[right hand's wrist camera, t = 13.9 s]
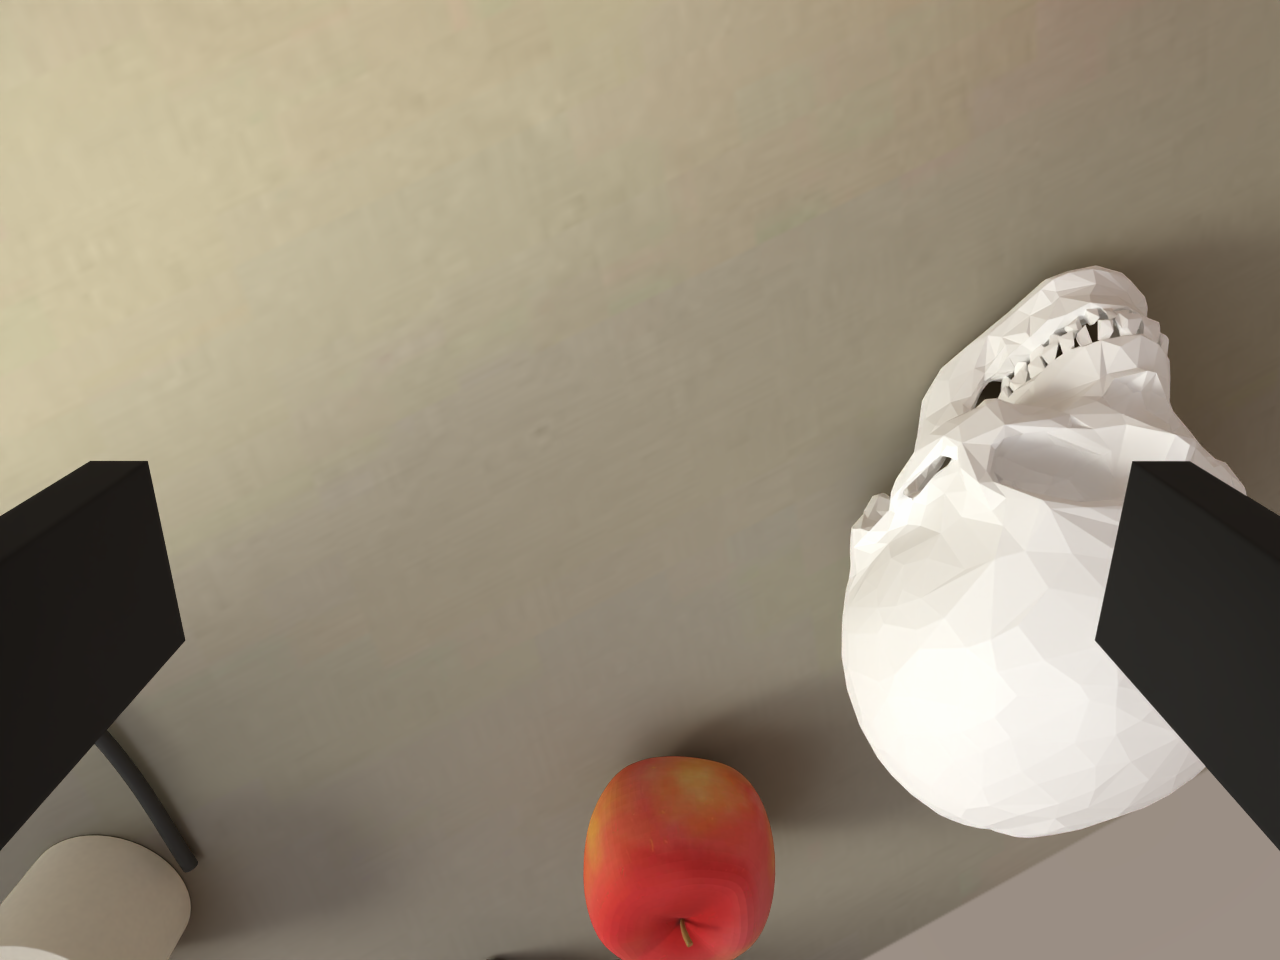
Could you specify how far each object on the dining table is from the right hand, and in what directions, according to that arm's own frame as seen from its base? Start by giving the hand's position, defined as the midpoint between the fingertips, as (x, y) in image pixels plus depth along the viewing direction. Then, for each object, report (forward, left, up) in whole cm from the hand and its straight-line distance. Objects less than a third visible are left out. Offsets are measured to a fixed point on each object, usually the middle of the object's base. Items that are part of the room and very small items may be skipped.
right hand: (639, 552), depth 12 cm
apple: (-25, -12, -28) cm, 40 cm away
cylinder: (-44, +15, -28) cm, 55 cm away
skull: (-4, -19, -28) cm, 34 cm away
